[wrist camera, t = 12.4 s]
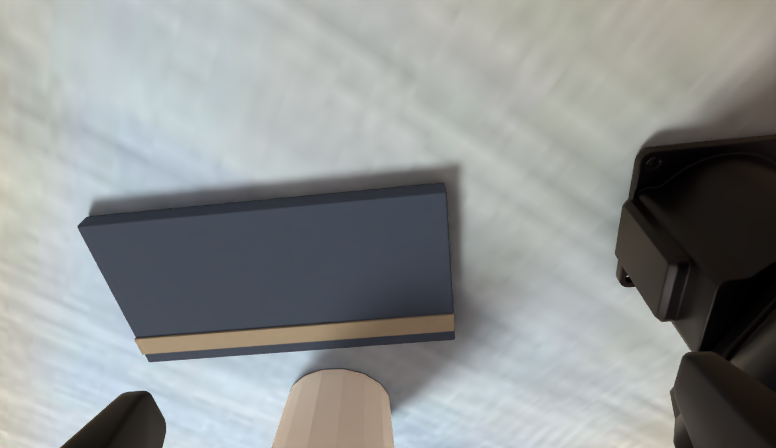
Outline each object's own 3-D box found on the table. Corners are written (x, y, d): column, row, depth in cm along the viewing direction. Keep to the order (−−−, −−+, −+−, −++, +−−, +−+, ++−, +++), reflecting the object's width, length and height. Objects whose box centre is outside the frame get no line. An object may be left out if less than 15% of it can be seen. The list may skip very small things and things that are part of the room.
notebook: (444, 181, 20) (447, 192, 19) (453, 328, 24) (455, 342, 23) (86, 216, 21) (74, 227, 20) (155, 350, 25) (147, 364, 24)
